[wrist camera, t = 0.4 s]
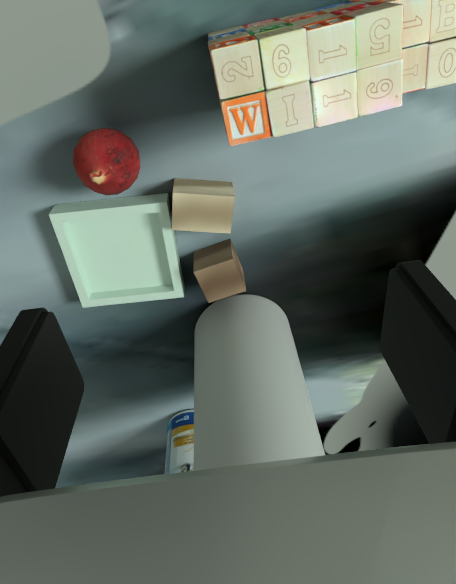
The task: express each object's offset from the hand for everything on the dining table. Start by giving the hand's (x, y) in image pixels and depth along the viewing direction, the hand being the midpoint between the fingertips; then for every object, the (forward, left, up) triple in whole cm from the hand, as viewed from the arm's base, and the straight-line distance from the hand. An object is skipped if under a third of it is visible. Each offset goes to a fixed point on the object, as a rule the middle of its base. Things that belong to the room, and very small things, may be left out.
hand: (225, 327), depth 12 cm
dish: (+15, -11, -33) cm, 38 cm away
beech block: (+10, -2, -33) cm, 35 cm away
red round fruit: (+4, -10, -34) cm, 35 cm away
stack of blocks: (-3, +12, -34) cm, 36 cm away
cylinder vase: (+29, +1, -34) cm, 44 cm away
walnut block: (+18, -1, -33) cm, 38 cm away
